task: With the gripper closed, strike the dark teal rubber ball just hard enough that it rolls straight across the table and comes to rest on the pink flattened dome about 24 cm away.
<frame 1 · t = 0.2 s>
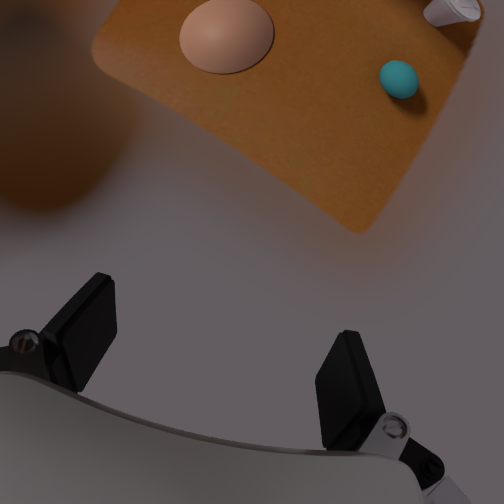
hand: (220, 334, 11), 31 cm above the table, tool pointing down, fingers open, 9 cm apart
pink flattened dome: (225, 33, 30), on the table
ball: (399, 79, 29), on the table
smoothie: (432, 17, 25), on the table
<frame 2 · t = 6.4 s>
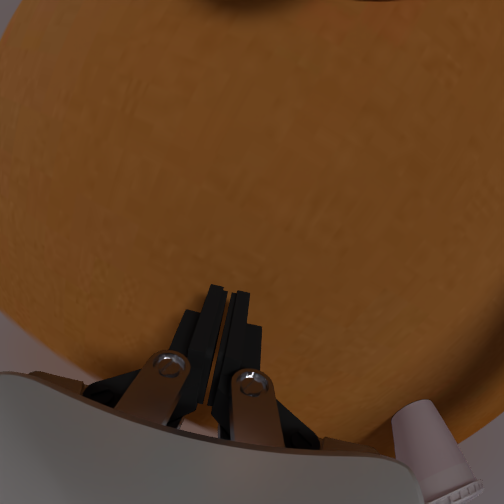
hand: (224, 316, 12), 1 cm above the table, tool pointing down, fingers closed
smoothie: (411, 411, 17), on the table
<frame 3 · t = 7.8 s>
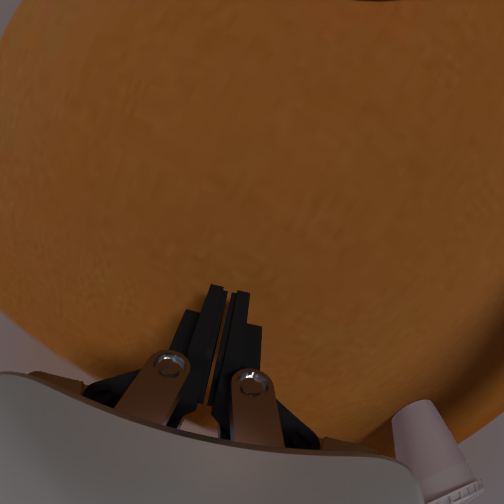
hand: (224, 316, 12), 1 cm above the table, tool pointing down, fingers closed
smoothie: (411, 411, 17), on the table
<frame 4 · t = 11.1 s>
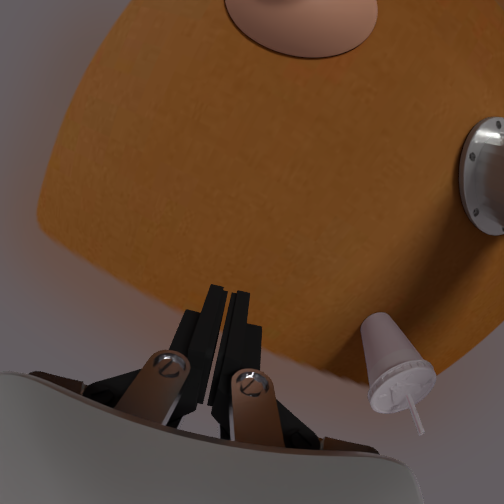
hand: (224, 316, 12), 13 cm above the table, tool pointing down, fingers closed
smoothie: (375, 324, 28), on the table
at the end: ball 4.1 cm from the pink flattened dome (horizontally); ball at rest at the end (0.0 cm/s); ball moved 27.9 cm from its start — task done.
